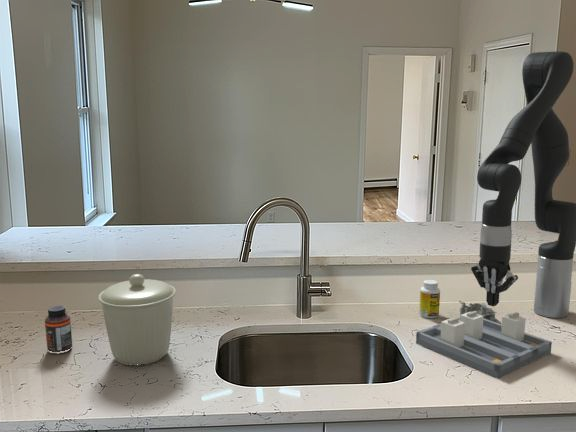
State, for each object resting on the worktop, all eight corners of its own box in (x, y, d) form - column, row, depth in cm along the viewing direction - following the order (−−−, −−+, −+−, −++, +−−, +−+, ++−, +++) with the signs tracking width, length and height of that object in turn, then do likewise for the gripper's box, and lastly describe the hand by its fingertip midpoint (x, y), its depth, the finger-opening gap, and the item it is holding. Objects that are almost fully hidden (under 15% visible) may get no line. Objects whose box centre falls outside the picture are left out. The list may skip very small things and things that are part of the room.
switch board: (469, 323, 162) (470, 313, 162) (550, 353, 143) (551, 341, 143) (416, 343, 149) (416, 332, 149) (497, 378, 130) (498, 365, 130)
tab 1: (450, 340, 147) (451, 315, 146) (463, 345, 144) (465, 319, 143) (440, 344, 145) (441, 318, 143) (453, 349, 142) (454, 323, 140)
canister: (129, 381, 130) (123, 291, 126) (88, 358, 142) (82, 275, 138) (193, 355, 143) (190, 273, 139) (151, 335, 155) (146, 259, 151)
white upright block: (509, 335, 150) (511, 310, 149) (523, 340, 147) (525, 314, 146) (500, 338, 148) (502, 313, 147) (514, 343, 145) (516, 318, 143)
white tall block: (469, 333, 151) (470, 308, 150) (482, 338, 148) (483, 313, 147) (459, 337, 149) (460, 311, 148) (472, 342, 146) (473, 316, 145)
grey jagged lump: (456, 313, 171) (457, 299, 171) (480, 311, 172) (481, 298, 171) (472, 326, 161) (473, 312, 160) (498, 324, 162) (499, 310, 161)
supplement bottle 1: (43, 350, 146) (39, 308, 144) (65, 343, 151) (62, 301, 148) (54, 357, 142) (50, 313, 140) (77, 349, 147) (73, 307, 144)
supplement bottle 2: (429, 320, 165) (431, 286, 163) (415, 314, 169) (416, 281, 167) (443, 316, 168) (444, 282, 166) (428, 310, 172) (430, 277, 170)
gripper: (527, 243, 145) (523, 309, 148) (482, 233, 155) (479, 295, 159) (510, 249, 140) (506, 316, 144) (464, 238, 151) (462, 301, 155)
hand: (492, 305), depth 152 cm, fingers closed
